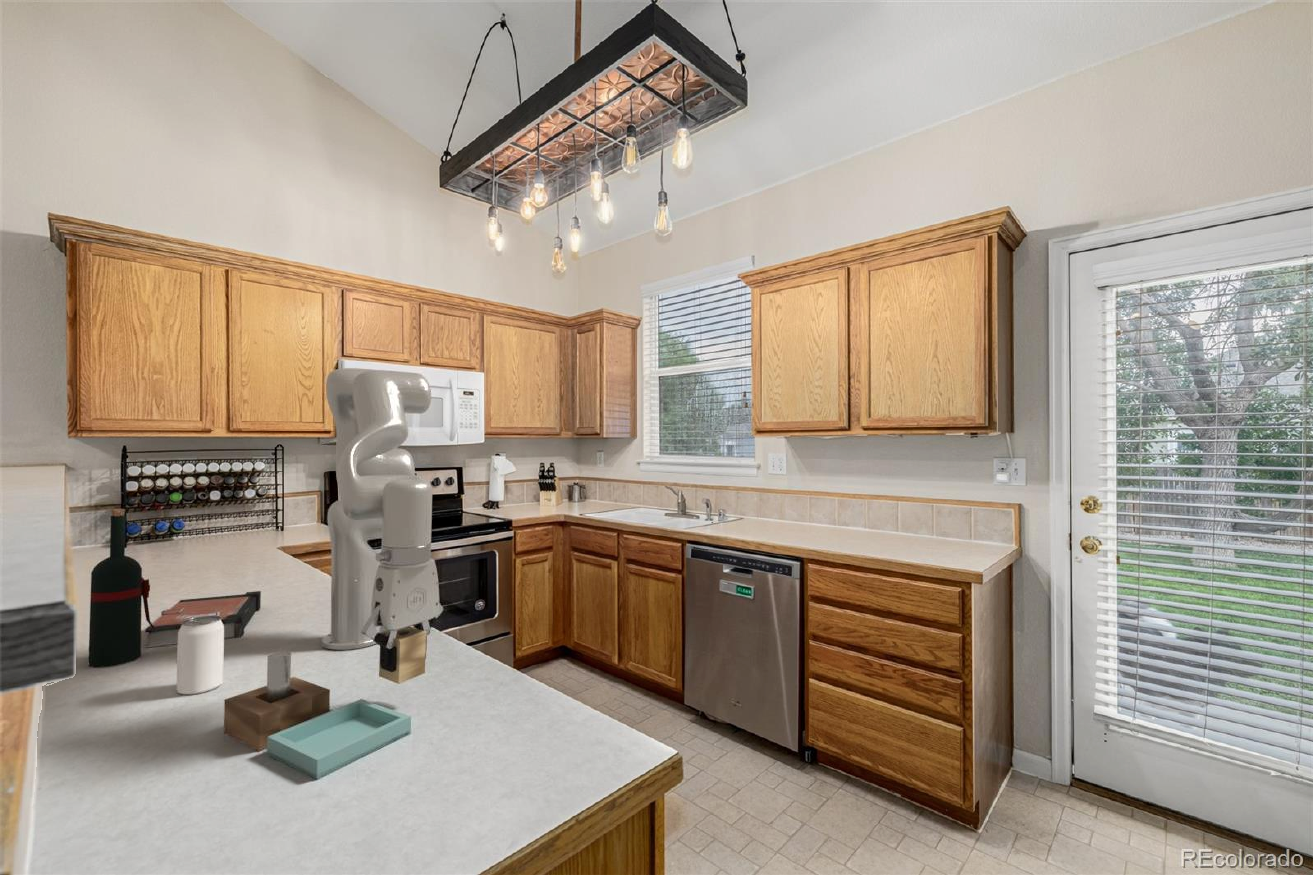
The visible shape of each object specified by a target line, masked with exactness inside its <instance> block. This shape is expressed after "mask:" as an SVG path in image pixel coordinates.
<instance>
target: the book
mask: <svg viewBox="0 0 1313 875" xmlns="http://www.w3.org/2000/svg"><path fill="white" fill-rule="evenodd" d="M261 592H262V590H260V591H259V590H255V591H247V592H246V593H242V594H234V595H233V594H231V595H222V596H209V597H202V598H201V597H199V598H186V599H180V600H179V601H178V602H177V603H175V604H174V605H172V607H170V608H169V609H166V610H162V611H161V612H160V616H159V618H157V619H156V620H155V621H154V622H151V623H152V625H153V626H154V628H155V629H156V630H155V629H154V628H152V627H151V626H150V625H149V626H147V628H145V631H144V632H145V633H148V636H147V639H148V642H147V645H146V646H145V647H144V649H153V648H162V647H171V646H178V632H179V630H180V628H181V626H182V624H181V623H182V622H183V621H185V620H187V619H191V618H195V617H201V616H220V617H221V621H222V623H223V625H224V640H232V639H241V638H242V637H243V636H244V634H245V629H246V627H247V625H248V624H249V623H250V621H251V619H252V618H253V617H254V615H255V614H256V612H259V611H260V610H261V602H262V599H261V598H262V596H261Z"/></svg>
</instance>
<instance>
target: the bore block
mask: <svg viewBox="0 0 1313 875" xmlns="http://www.w3.org/2000/svg"><path fill="white" fill-rule="evenodd" d="M330 693H331V689H329V688H326V687H323V686H321V685H317V684H315V683H312V682H309V681H307V680H304V679H301V678H298V677H296V676H291V677H290V697H287V698H284V699H282V700H279V701H276V702H273V703H268V702H267V685H264V686H261V687H259V688H255V689H253V690H250V691H246V692H243V693H239V694H237V695H235V696H231V697H228V698H225V699H224V703H223V704H224V709H223V710H224V712H223V714H224V715H223V734H224V735H226V736H229V737H230V738H233V739H234V740H236V741H238V742H241V743H243V744H244V745H246V746H249V747H250V748H253V749H255V750H256V751H259V752H261V751H264V750H265V749H267V737H268V736H270V735H273V734H275V733H278V732H280V731H283V730H285V729H288V728H290V727H293V726H295V725H298V724H300V723H303V722H305V721H308V720H310V719H313V718H315V717H318V716H320V715H323V714H325V713H328V712H330V705H331V704H330V699H331V698H330V697H331V696H330V695H331V694H330Z"/></svg>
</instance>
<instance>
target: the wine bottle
mask: <svg viewBox="0 0 1313 875" xmlns="http://www.w3.org/2000/svg"><path fill="white" fill-rule="evenodd" d="M125 512H126V509H125V508H118V509H111V514H112V515H110V535H109V536H110V538H109V539H110V540H109V557H107V558H104V559H103V560H101V561H100V562H98V563H97V564H96V565H95V566H94V567H93V568H92V571H91V573H90V600H89V601H90V607H89V608H90V609H89V628H88V629H89V634H88V637H89V638H88V663H87V664H88V665H87V666H88V667H90V668H95V669H96V668H97V669H99V668H108V667H109V668H110V667H115V666H120V665H124V664H127V663H130V662H134V661H136V660H138V659H140V658H141V657H142V601H143V608H144V615H145V621H146V622H147V623H148V624H149V626H151V627H152V628H154V626H153V625H152V623H153V622H151V617H150V612H149V611H150V609H149V603H148V602H149V601H148V599H149V597H150V591H151V584H150V579H149V578H147V579H145V578H144V577H143V568H142V566H141V564H140V562H139V561H137V560H136V559H135V558H132V557H131V556H127V555H126V554H125V549H126V543H125V542H126V514H125ZM154 629H155V628H154ZM155 630H156V629H155Z"/></svg>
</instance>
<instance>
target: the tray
mask: <svg viewBox="0 0 1313 875" xmlns="http://www.w3.org/2000/svg"><path fill="white" fill-rule="evenodd" d="M411 728H412V716H410V715H408V714H405V713H402V712H399V711H397V710H394V709H391V708H387V707H385V706H383V705H379V704H376V703H374V702H371V701H368V700H365V699H363V698H360V699H357V700H355V701H353V702H350V703H348V704H345V705H343V706H340V707H338V708H335V709H333V710H329V712H328V713H325V714H323V715H320V716H318V717H315V718H313V719H310V720H308V721H305V722H303V723H300V724H298V725H295V726H293V727H290V728H288V729H285V730H283V731H280V732H278V733H275V734H273V735H270V736H268V737H267V748H266V755H267V756H268V757H271V758H273V759H275V760H276V761H278V762H280V763H282V764H285V765H286V766H289V767H291V768H293V769H295V770H297V771H299V772H301V773H303V774H305V775H306V776H309V777H311V778H313V779H315V780H320V779H321V778H324V777H325V776H327V775H330V774H332V773H333V772H336V771H338V770H340V769H342V768H344V767H345V766H347V765H350V764H352V763H353V762H356V761H358V760H359V759H361V758H364V757H366V756H368V755H370V754H372V753H374V752H376V751H378V750H380V749H381V748H384V747H386V746H388V745H390V744H392V743H394V742H396V741H398V740H400V739H402V738H405V737H406V736H408V735H410V734H411V733H412V729H411Z"/></svg>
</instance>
